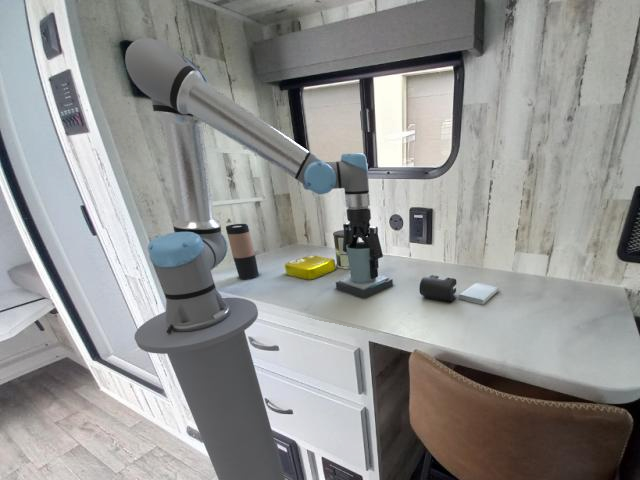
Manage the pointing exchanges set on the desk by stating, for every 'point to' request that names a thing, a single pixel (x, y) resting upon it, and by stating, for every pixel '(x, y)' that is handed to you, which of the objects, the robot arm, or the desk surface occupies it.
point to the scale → (364, 286)
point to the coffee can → (341, 250)
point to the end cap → (438, 288)
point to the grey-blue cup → (359, 263)
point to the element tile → (310, 267)
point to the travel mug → (242, 251)
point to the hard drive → (478, 293)
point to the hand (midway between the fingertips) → (363, 274)
